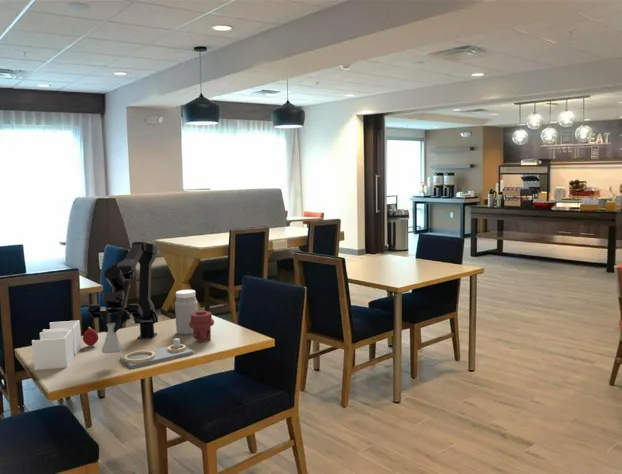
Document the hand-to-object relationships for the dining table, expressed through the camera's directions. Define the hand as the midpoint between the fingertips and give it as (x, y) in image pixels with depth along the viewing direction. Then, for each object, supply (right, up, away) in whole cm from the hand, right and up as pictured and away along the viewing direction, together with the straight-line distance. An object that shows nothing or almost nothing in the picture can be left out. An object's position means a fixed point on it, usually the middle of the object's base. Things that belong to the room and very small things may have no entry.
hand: (110, 331), depth 201 cm
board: (+14, -11, +11) cm, 21 cm away
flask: (0, -7, +2) cm, 8 cm away
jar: (+18, -8, +43) cm, 47 cm away
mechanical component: (+27, -9, +31) cm, 42 cm away
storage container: (-24, -13, +15) cm, 31 cm away
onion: (-17, -11, +27) cm, 34 cm away
